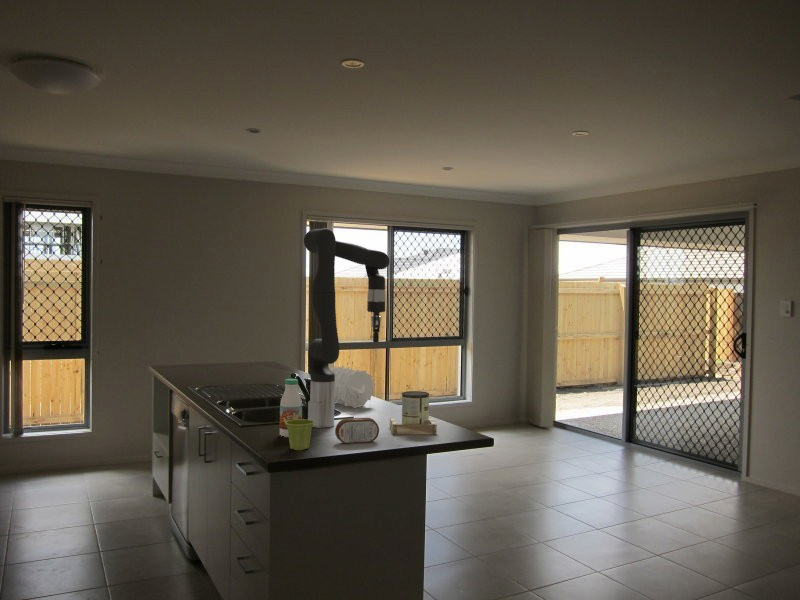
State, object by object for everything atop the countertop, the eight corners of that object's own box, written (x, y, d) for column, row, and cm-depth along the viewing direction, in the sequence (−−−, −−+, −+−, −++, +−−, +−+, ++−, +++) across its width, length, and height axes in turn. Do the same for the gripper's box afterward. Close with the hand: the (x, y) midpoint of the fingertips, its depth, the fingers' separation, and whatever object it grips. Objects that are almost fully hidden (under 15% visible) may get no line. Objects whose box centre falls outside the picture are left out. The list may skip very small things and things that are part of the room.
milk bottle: (277, 434, 233) (278, 378, 233) (298, 432, 236) (299, 377, 236) (282, 438, 226) (283, 381, 226) (304, 437, 229) (304, 380, 229)
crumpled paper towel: (339, 409, 310) (370, 414, 290) (310, 396, 300) (339, 400, 281) (352, 373, 315) (383, 376, 296) (324, 359, 306) (354, 361, 286)
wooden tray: (389, 426, 249) (389, 417, 249) (431, 426, 251) (431, 417, 251) (392, 434, 236) (392, 424, 236) (436, 434, 237) (436, 424, 237)
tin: (377, 440, 225) (377, 416, 225) (379, 442, 222) (380, 418, 222) (334, 443, 220) (335, 418, 220) (336, 445, 217) (337, 420, 217)
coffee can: (403, 427, 249) (404, 390, 249) (430, 428, 247) (430, 391, 247) (398, 432, 239) (399, 394, 239) (426, 434, 237) (427, 395, 237)
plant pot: (284, 452, 206) (285, 424, 206) (284, 445, 215) (285, 419, 215) (314, 451, 207) (314, 424, 207) (313, 444, 217) (313, 418, 217)
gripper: (366, 300, 276) (366, 341, 276) (368, 300, 263) (367, 343, 263) (384, 300, 276) (383, 341, 276) (386, 300, 263) (385, 343, 263)
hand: (375, 342), depth 269 cm, fingers closed
